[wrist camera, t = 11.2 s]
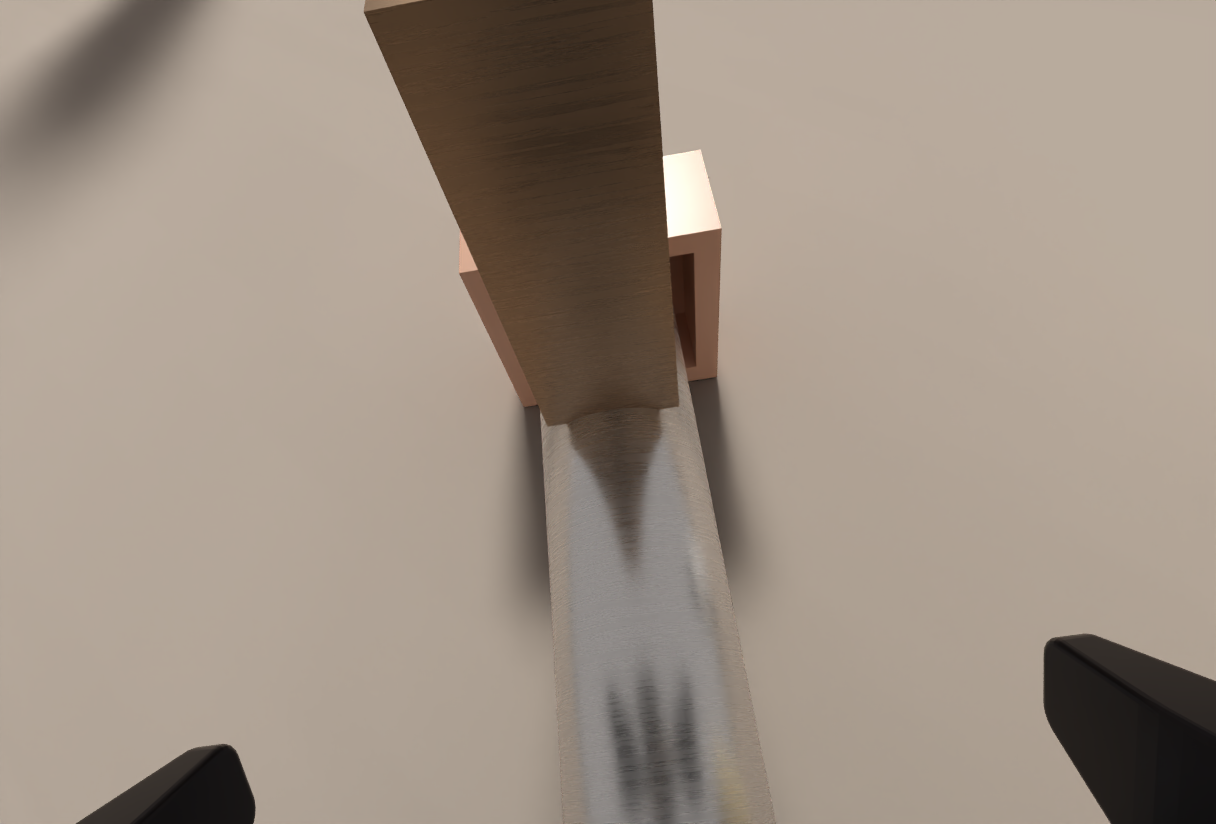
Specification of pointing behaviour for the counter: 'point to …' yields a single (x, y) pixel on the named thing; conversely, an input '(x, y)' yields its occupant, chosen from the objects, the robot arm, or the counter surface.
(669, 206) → the socket block
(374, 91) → the counter surface
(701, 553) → the brown and silver piece
